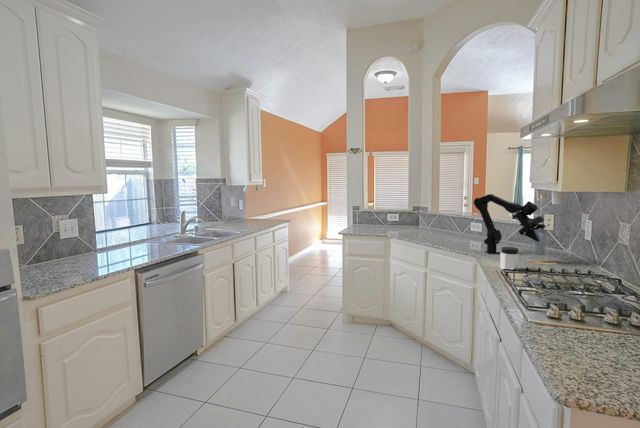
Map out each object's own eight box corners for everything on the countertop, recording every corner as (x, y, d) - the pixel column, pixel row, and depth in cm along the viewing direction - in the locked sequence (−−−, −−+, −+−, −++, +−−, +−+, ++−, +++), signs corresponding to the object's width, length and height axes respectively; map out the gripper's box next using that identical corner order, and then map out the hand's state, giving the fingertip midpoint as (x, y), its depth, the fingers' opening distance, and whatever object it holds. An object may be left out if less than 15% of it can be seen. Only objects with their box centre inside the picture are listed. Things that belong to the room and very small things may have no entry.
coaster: (525, 260, 213) (525, 259, 213) (544, 260, 214) (544, 259, 214) (538, 265, 201) (538, 264, 201) (558, 265, 202) (558, 264, 202)
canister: (530, 253, 212) (532, 227, 210) (540, 253, 212) (542, 227, 210) (536, 255, 206) (538, 229, 203) (547, 255, 206) (549, 229, 204)
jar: (512, 272, 189) (512, 250, 188) (497, 269, 196) (498, 248, 195) (520, 269, 194) (521, 248, 193) (506, 266, 201) (506, 246, 199)
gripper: (524, 212, 205) (542, 234, 197) (543, 210, 214) (561, 231, 205) (511, 224, 213) (528, 245, 204) (530, 222, 221) (547, 242, 213)
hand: (541, 240), depth 206 cm, fingers closed on canister, 6 cm apart
